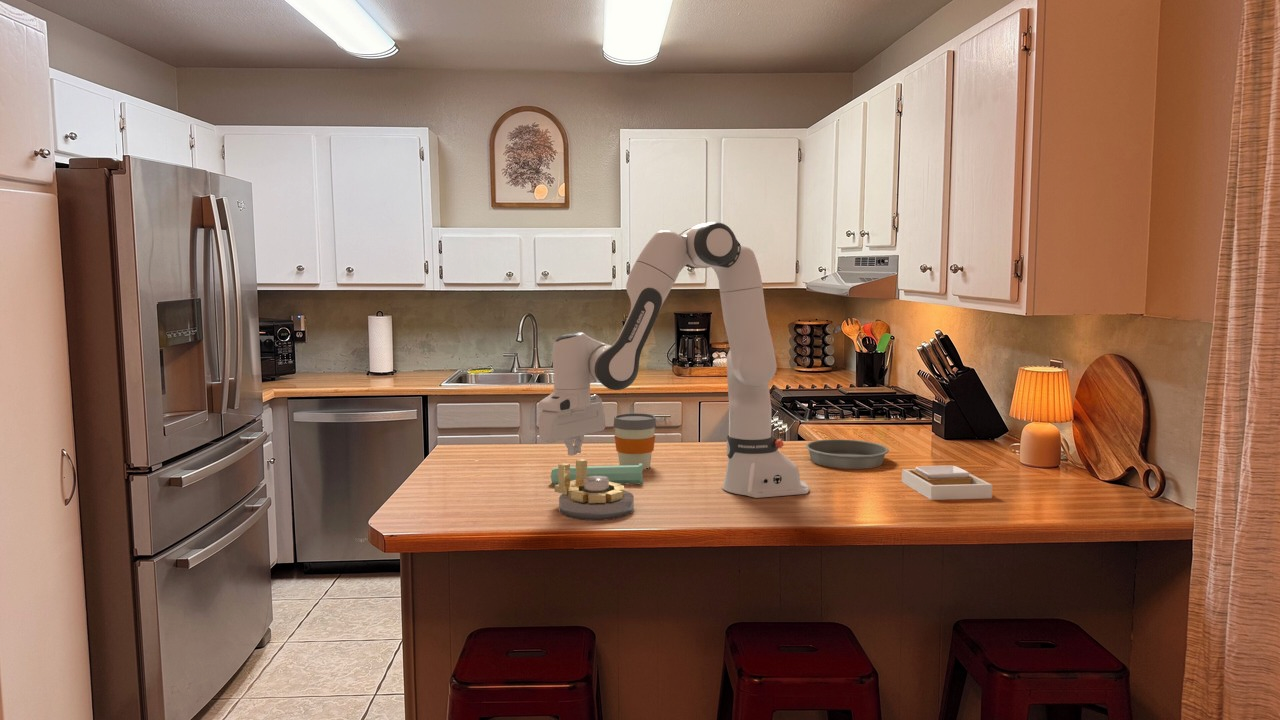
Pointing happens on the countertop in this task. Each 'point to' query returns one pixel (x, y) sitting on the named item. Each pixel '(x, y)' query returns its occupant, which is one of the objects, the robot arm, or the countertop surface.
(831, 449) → the cake pan
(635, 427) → the reusable coffee cup
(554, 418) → the robot arm
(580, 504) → the grey round piece
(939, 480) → the soap dish
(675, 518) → the countertop surface
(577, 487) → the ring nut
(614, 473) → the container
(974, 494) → the dish tray
